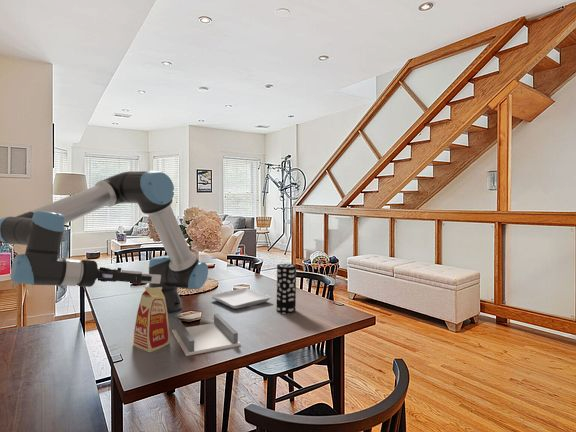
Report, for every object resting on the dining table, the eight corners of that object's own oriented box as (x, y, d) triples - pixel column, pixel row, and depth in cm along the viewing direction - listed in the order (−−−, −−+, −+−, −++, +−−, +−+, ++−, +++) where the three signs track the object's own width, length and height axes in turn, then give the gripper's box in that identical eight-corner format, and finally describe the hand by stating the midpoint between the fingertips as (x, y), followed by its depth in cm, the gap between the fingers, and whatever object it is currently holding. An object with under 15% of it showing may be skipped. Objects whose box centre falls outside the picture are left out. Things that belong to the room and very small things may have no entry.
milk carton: (149, 352, 117) (149, 290, 116) (131, 345, 122) (131, 286, 121) (172, 342, 125) (172, 284, 124) (154, 336, 130) (154, 280, 128)
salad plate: (233, 312, 158) (233, 305, 158) (209, 301, 174) (209, 294, 174) (272, 303, 172) (272, 296, 172) (246, 294, 188) (246, 287, 188)
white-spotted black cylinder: (293, 314, 156) (294, 267, 155) (274, 313, 158) (275, 266, 156) (297, 308, 164) (297, 264, 163) (278, 307, 166) (279, 263, 165)
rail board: (172, 332, 134) (172, 320, 134) (220, 324, 143) (220, 313, 142) (186, 356, 115) (186, 341, 115) (240, 345, 123) (240, 332, 123)
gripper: (63, 281, 113) (132, 285, 128) (91, 291, 95) (166, 293, 110) (68, 257, 114) (135, 263, 129) (96, 262, 97) (170, 268, 111)
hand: (150, 277), depth 120 cm, fingers open, 13 cm apart
